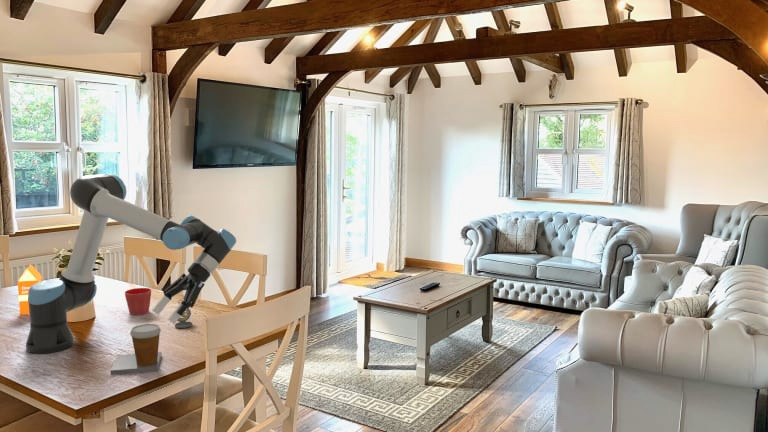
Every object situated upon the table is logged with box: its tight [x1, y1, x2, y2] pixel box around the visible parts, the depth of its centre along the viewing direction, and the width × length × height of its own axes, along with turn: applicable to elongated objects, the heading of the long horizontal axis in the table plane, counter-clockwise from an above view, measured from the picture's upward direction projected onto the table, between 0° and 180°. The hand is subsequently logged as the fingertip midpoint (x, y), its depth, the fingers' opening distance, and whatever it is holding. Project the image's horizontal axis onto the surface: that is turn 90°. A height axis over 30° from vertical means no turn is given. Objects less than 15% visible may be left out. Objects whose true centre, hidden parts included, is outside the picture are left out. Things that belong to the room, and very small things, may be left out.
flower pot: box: [124, 287, 152, 316], centre depth 261 cm, size 11×11×10 cm
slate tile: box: [110, 351, 162, 376], centre depth 202 cm, size 14×14×2 cm
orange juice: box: [17, 264, 43, 315], centre depth 261 cm, size 8×9×20 cm
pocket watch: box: [174, 299, 193, 329], centre depth 244 cm, size 8×8×10 cm
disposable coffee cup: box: [129, 323, 162, 366], centre depth 200 cm, size 10×10×12 cm
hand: (162, 317), depth 206 cm, fingers open, 13 cm apart
